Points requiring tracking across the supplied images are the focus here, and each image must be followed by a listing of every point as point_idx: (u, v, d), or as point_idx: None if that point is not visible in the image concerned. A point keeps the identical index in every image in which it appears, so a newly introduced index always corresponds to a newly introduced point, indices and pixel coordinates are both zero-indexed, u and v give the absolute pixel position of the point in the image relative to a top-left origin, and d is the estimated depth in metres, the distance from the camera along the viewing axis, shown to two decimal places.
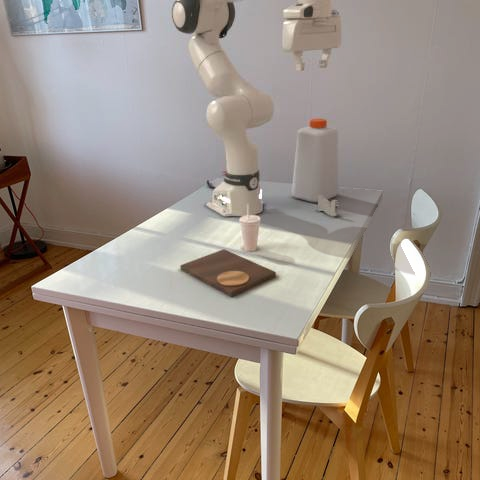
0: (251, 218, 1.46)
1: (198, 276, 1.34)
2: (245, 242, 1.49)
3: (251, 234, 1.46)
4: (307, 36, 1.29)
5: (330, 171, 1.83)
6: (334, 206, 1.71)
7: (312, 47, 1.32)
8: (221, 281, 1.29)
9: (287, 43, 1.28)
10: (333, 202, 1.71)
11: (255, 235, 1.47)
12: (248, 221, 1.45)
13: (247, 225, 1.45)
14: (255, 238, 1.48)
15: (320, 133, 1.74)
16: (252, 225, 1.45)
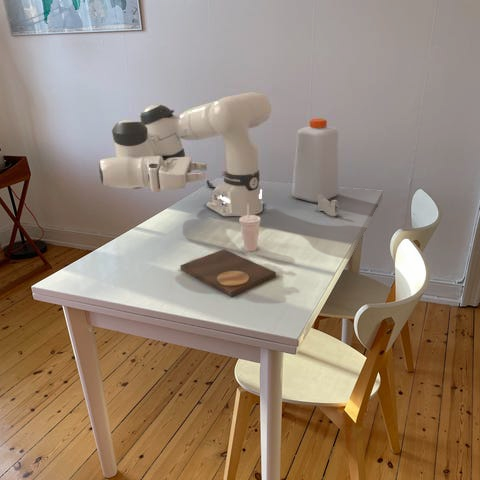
0: (251, 218, 1.46)
1: (198, 276, 1.34)
2: (245, 241, 1.49)
3: (251, 234, 1.46)
4: (174, 169, 1.35)
5: (330, 171, 1.83)
6: (334, 206, 1.71)
7: (185, 167, 1.37)
8: (221, 281, 1.29)
9: (177, 181, 1.31)
10: (333, 202, 1.71)
11: (255, 235, 1.47)
12: (248, 221, 1.45)
13: (247, 225, 1.45)
14: (255, 238, 1.48)
15: (320, 133, 1.74)
16: (252, 225, 1.45)
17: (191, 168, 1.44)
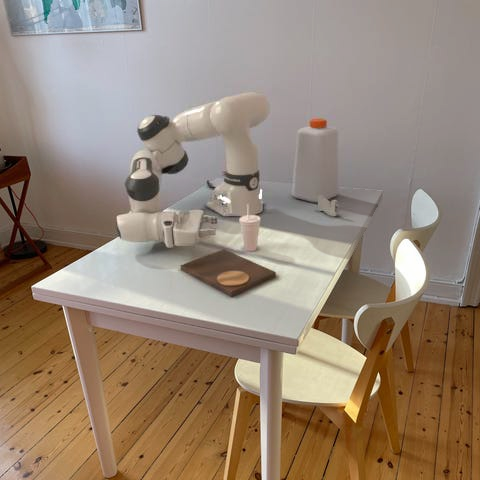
0: (251, 218, 1.46)
1: (198, 276, 1.34)
2: (245, 241, 1.49)
3: (251, 234, 1.46)
4: (188, 225, 1.44)
5: (330, 171, 1.83)
6: (334, 206, 1.71)
7: (197, 223, 1.45)
8: (221, 281, 1.29)
9: (191, 238, 1.39)
10: (333, 202, 1.71)
11: (255, 235, 1.47)
12: (248, 221, 1.45)
13: (247, 225, 1.45)
14: (255, 238, 1.48)
15: (320, 133, 1.74)
16: (252, 225, 1.45)
17: (203, 221, 1.53)
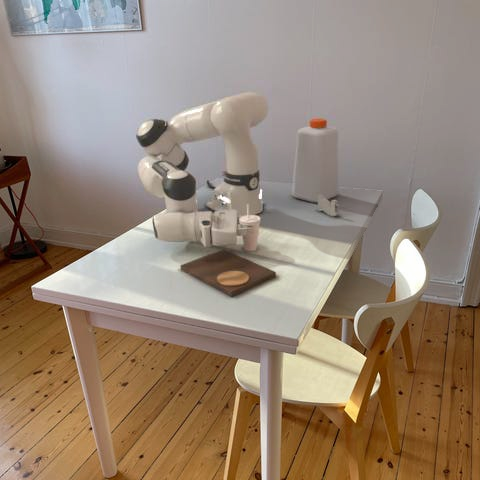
0: (251, 218, 1.46)
1: (198, 276, 1.34)
2: (245, 241, 1.49)
3: (251, 234, 1.46)
4: (225, 225, 1.43)
5: (330, 171, 1.83)
6: (334, 206, 1.71)
7: (234, 222, 1.45)
8: (221, 281, 1.29)
9: (229, 238, 1.39)
10: (333, 202, 1.71)
11: (255, 235, 1.47)
12: (248, 221, 1.45)
13: (247, 225, 1.45)
14: (255, 238, 1.48)
15: (320, 133, 1.74)
16: (252, 225, 1.45)
17: (238, 222, 1.52)
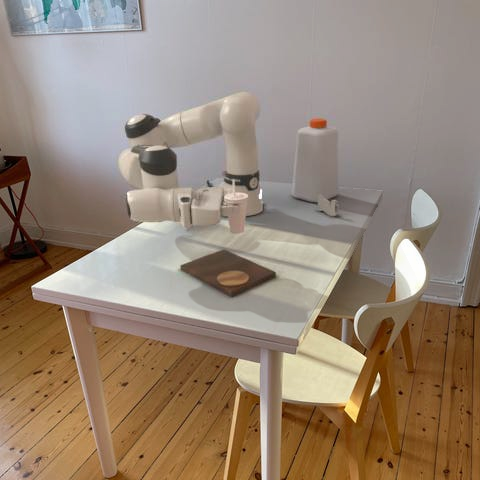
0: (237, 195, 1.28)
1: (198, 276, 1.34)
2: (230, 222, 1.31)
3: (238, 213, 1.29)
4: (207, 203, 1.26)
5: (330, 171, 1.83)
6: (334, 206, 1.71)
7: (218, 200, 1.27)
8: (221, 281, 1.29)
9: (211, 217, 1.22)
10: (333, 202, 1.71)
11: (242, 215, 1.30)
12: (234, 199, 1.27)
13: (233, 203, 1.27)
14: (242, 218, 1.30)
15: (320, 133, 1.74)
16: (238, 203, 1.27)
17: (223, 200, 1.34)
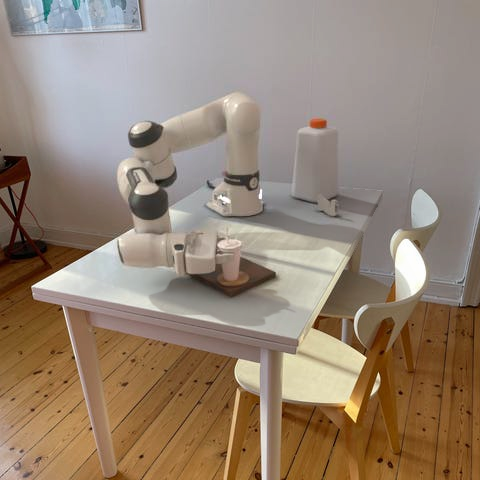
0: (231, 243, 1.26)
1: (198, 276, 1.34)
2: (224, 270, 1.28)
3: (231, 261, 1.26)
4: (202, 249, 1.22)
5: (330, 171, 1.83)
6: (334, 206, 1.71)
7: (213, 246, 1.24)
8: (221, 281, 1.29)
9: (206, 265, 1.18)
10: (333, 202, 1.71)
11: (236, 262, 1.27)
12: (227, 247, 1.24)
13: (226, 252, 1.24)
14: (236, 266, 1.27)
15: (320, 133, 1.74)
16: None
17: None
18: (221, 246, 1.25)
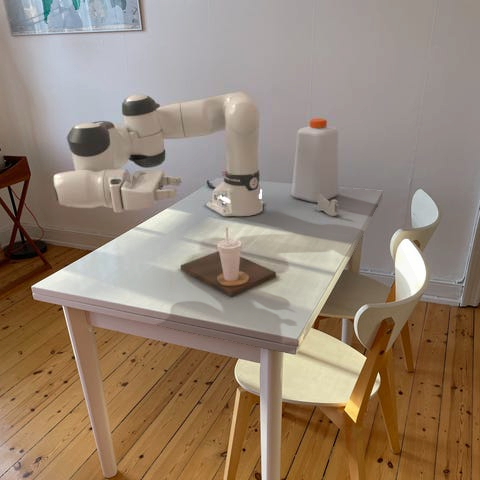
0: (231, 243, 1.26)
1: (198, 276, 1.34)
2: (224, 270, 1.28)
3: (231, 261, 1.26)
4: (141, 185, 1.14)
5: (330, 171, 1.83)
6: (334, 206, 1.71)
7: (154, 182, 1.16)
8: (221, 281, 1.29)
9: (143, 200, 1.10)
10: (333, 202, 1.71)
11: (236, 262, 1.27)
12: (227, 247, 1.24)
13: (226, 252, 1.24)
14: (236, 266, 1.27)
15: (320, 133, 1.74)
16: (232, 252, 1.24)
17: (163, 183, 1.23)
18: (221, 246, 1.25)
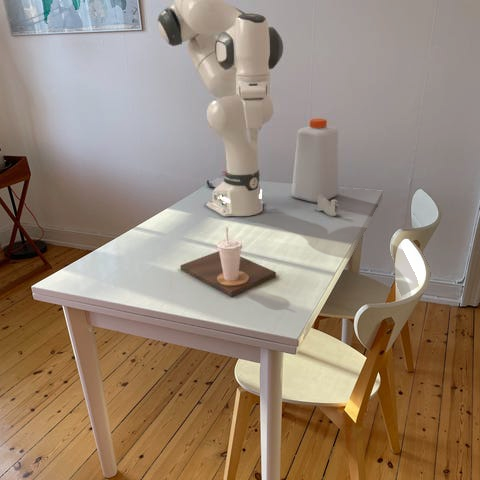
0: (231, 243, 1.26)
1: (198, 276, 1.34)
2: (224, 270, 1.28)
3: (231, 261, 1.26)
4: None
5: (330, 171, 1.83)
6: (334, 206, 1.71)
7: None
8: (221, 281, 1.29)
9: (254, 123, 1.24)
10: (333, 202, 1.71)
11: (236, 262, 1.27)
12: (227, 247, 1.24)
13: (226, 252, 1.24)
14: (236, 266, 1.27)
15: (320, 133, 1.74)
16: (232, 252, 1.24)
17: None
18: (221, 246, 1.25)
